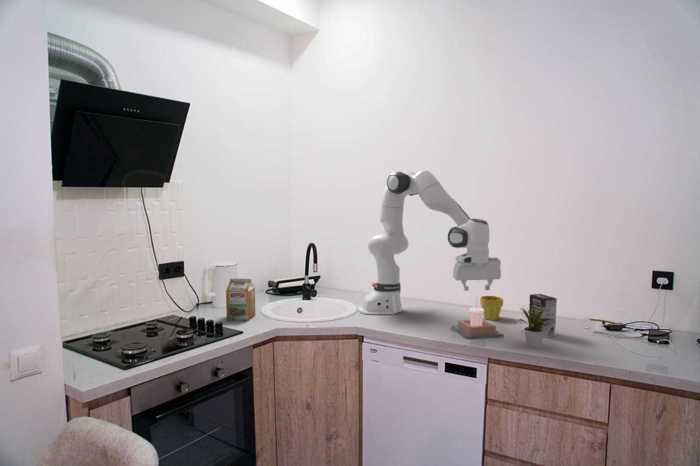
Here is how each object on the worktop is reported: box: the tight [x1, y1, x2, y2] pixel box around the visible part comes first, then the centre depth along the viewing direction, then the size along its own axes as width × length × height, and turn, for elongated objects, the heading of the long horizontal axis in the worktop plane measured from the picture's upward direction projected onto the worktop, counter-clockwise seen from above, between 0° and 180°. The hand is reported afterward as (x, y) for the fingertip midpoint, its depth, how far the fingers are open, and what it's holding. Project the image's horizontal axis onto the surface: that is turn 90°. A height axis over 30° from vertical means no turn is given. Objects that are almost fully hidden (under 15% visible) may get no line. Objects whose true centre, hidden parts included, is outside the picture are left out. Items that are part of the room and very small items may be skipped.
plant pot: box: [479, 295, 504, 321], centre depth 217 cm, size 10×10×10 cm
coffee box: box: [528, 293, 558, 338], centre depth 192 cm, size 9×6×16 cm
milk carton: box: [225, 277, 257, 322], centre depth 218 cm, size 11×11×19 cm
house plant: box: [517, 304, 552, 348], centre depth 177 cm, size 14×14×16 cm
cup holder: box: [450, 318, 504, 340], centre depth 195 cm, size 16×16×4 cm
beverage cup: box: [468, 296, 484, 326], centre depth 194 cm, size 6×6×14 cm
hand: (476, 290), depth 194 cm, fingers open, 8 cm apart
